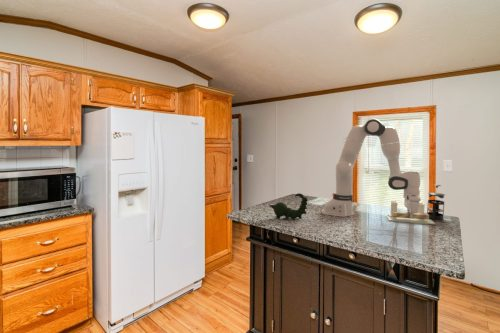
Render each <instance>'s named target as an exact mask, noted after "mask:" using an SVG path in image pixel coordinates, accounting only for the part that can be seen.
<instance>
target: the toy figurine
mask: <svg viewBox="0 0 500 333" xmlns="http://www.w3.org/2000/svg"><path fill="white" fill-rule="evenodd" d="M294 197H295V198H297V197H299V198H300V199H301V201H300V205H299V207H298V209H293V208H291V207H288V205H287V204H286V203H285V202H283V201H281V202H280V201H279V202H276V203H275V204H269V207H271V209H273V213H274V214H275V218H276V219H278V218H279V219H281V217H285V218H284V219H286V220H289V219H290V218H291V220H293V219H295V220H296V219H297V218H298V220H299V219H300V220H302V215H306V214H307V211H306V210H307V209H308V208H307V205H308V197H306V196H304V194H302V193H299V192H298V193H297V194H295V195H294Z"/></svg>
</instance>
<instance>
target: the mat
mask: <svg viewBox="0 0 500 333" xmlns="http://www.w3.org/2000/svg"><path fill="white" fill-rule="evenodd" d="M386 219H387V220H388V221H389V222H397V223H398V222H399V223H400V222H401V223H412V224H427V225H436V223H435V221H434V220H430V219H429V220H424V219H411V218H398V217H389V216H386Z"/></svg>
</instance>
